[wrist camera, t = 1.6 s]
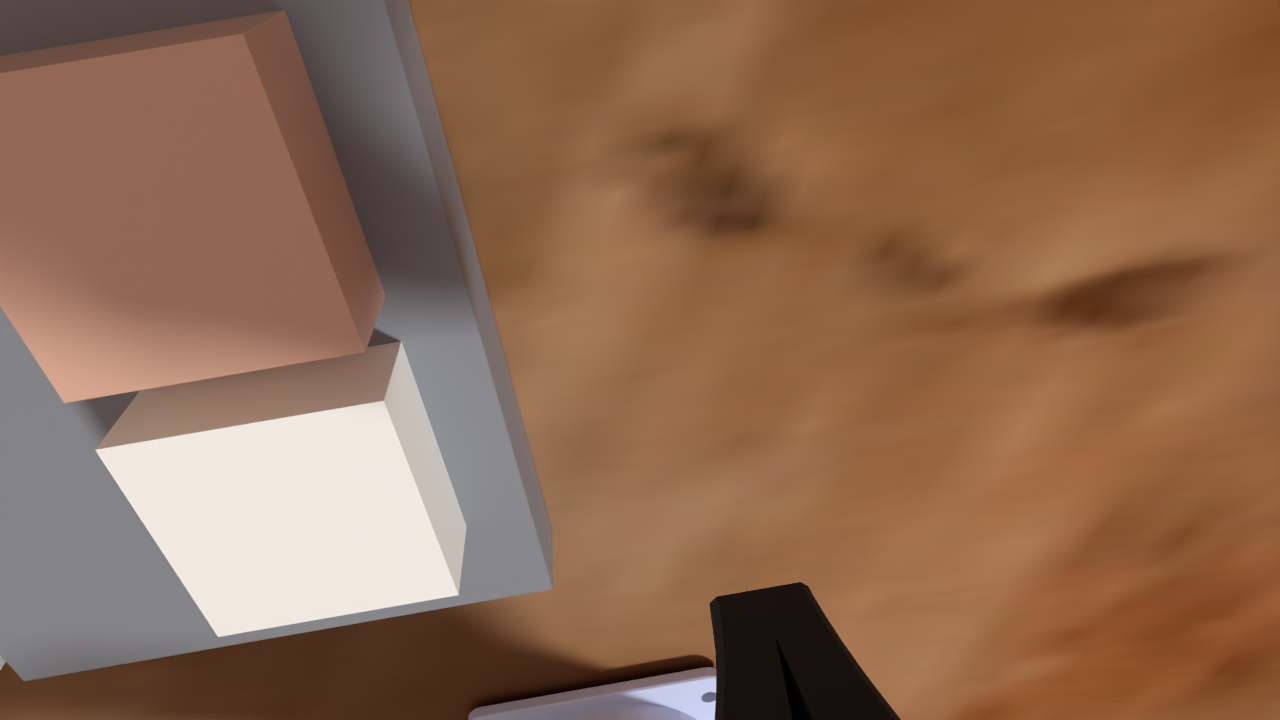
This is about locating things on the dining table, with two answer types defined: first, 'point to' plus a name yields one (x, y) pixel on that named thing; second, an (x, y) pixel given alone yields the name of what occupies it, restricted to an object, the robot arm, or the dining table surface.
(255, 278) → the terracotta tile
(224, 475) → the cream tile
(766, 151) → the dining table surface
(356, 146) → the board
